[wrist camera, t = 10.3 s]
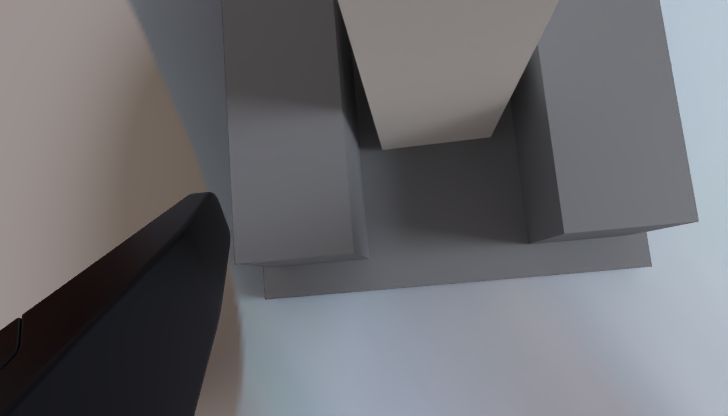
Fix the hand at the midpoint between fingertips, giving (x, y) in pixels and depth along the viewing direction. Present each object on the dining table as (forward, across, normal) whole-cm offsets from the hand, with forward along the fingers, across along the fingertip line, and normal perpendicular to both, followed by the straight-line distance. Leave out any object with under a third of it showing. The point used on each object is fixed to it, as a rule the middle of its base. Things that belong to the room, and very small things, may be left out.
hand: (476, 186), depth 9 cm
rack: (+10, 0, +2) cm, 10 cm away
